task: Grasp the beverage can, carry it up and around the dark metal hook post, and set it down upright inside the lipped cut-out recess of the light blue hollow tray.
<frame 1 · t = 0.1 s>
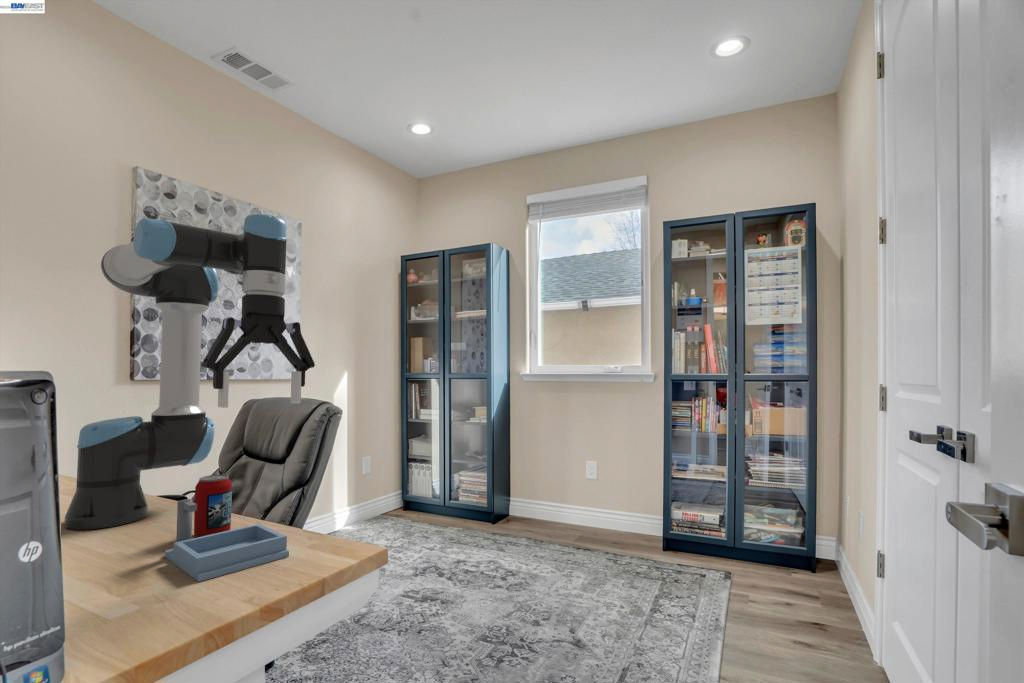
hand: (261, 405, 97), 28 cm above the table, fingers open, 13 cm apart
beverage can: (212, 535, 107), on the table
light blue hollow tray: (226, 556, 95), on the table
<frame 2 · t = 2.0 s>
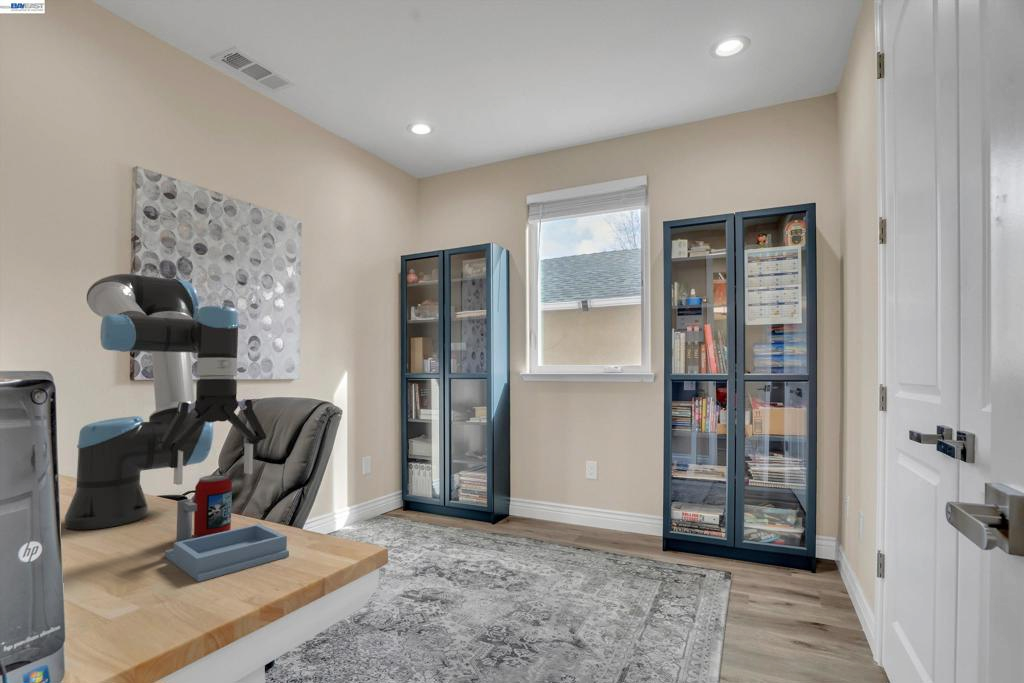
hand: (214, 478, 108), 12 cm above the table, fingers open, 13 cm apart
nothing on the table moved.
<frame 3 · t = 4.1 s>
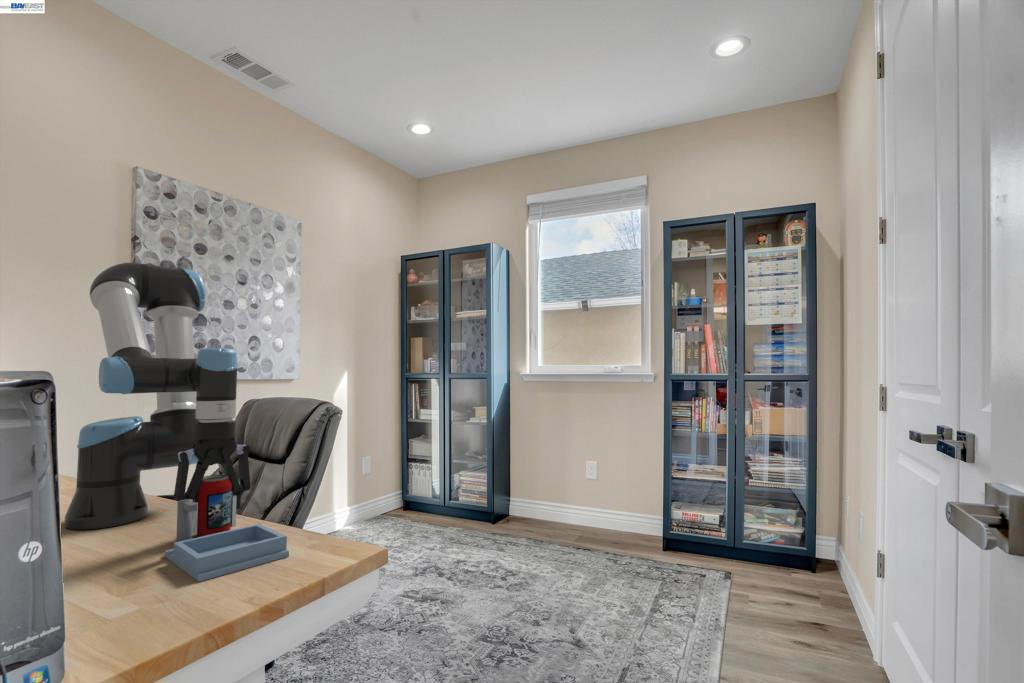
hand: (212, 529, 107), 1 cm above the table, fingers closed on beverage can, 7 cm apart
beverage can: (212, 535, 107), on the table, touching gripper
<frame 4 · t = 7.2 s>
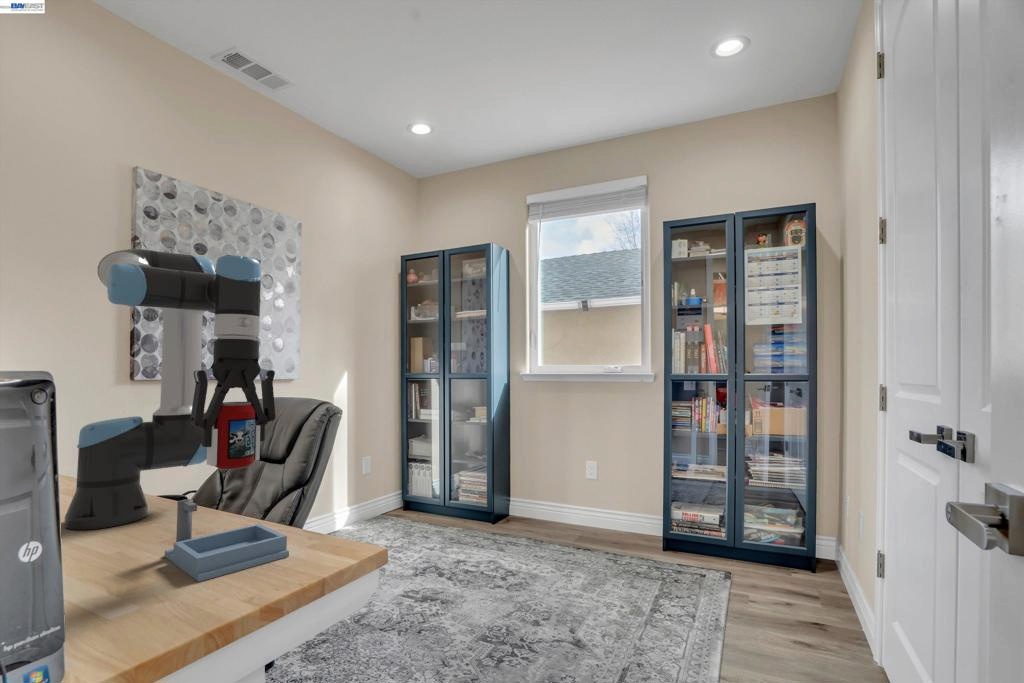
hand: (233, 461, 94), 18 cm above the table, fingers closed on beverage can, 7 cm apart
beverage can: (233, 468, 94), point 16 cm above the table, touching gripper
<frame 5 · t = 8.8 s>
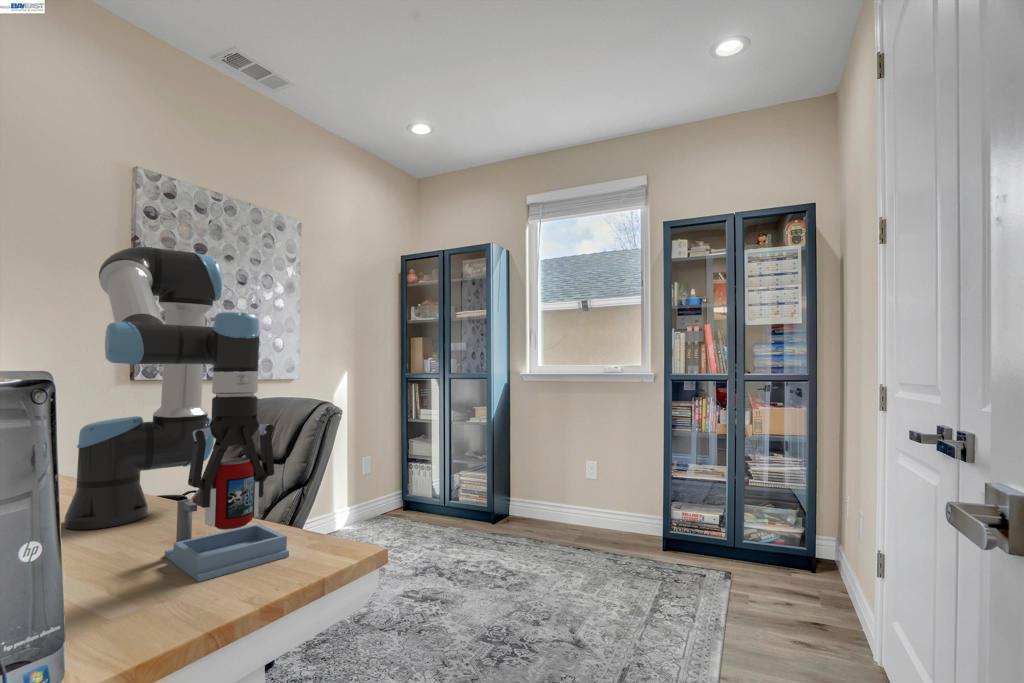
hand: (232, 520, 94), 7 cm above the table, fingers closed on beverage can, 7 cm apart
beverage can: (232, 526, 93), point 6 cm above the table, touching gripper
when the fingers open (4 cm above the table, at t = 10.3 s): beverage can drops 2 cm, resting on light blue hollow tray.
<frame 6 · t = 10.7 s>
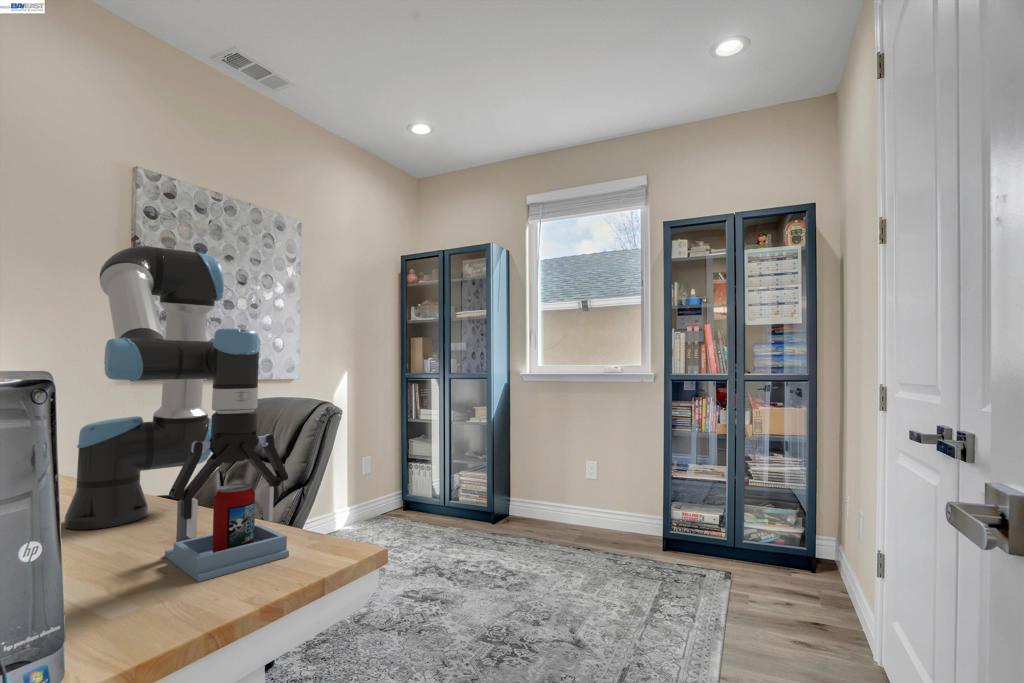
hand: (231, 528, 94), 6 cm above the table, fingers open, 12 cm apart
beverage can: (233, 553, 94), point 1 cm above the table, touching light blue hollow tray
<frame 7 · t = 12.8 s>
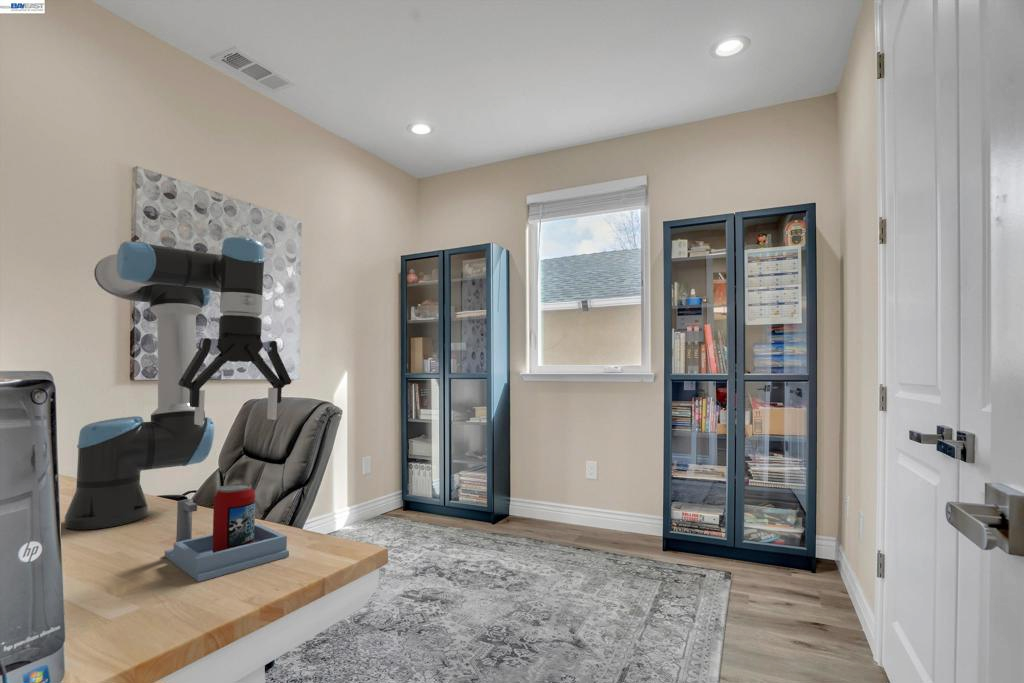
hand: (237, 421, 101), 24 cm above the table, fingers open, 13 cm apart
nothing on the table moved.
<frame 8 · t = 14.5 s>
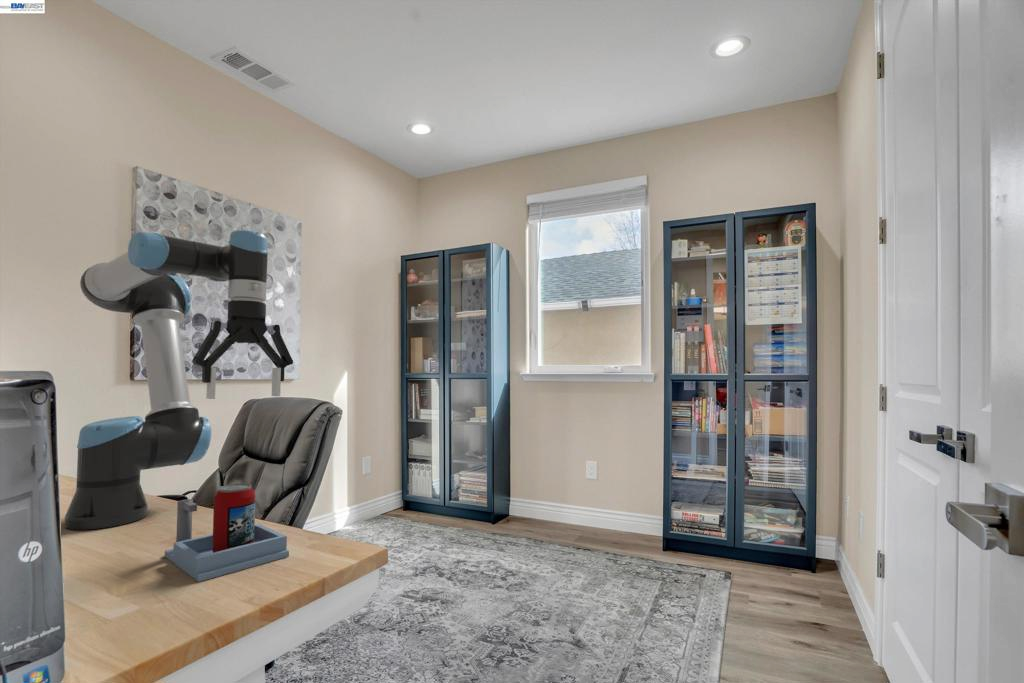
hand: (244, 397, 111), 29 cm above the table, fingers open, 13 cm apart
nothing on the table moved.
at the end: beverage can inside the target area on the light blue hollow tray (1.1 cm from its centre), point 0.8 cm above the light blue hollow tray's base; beverage can tilted 0°; the gripper is holding nothing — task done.
